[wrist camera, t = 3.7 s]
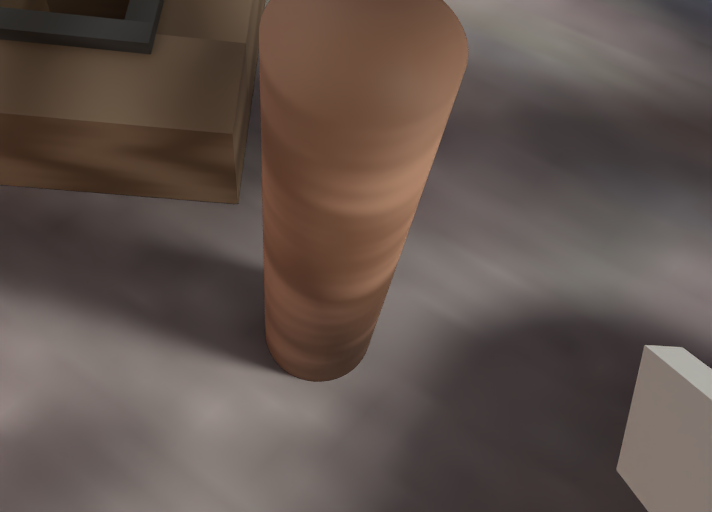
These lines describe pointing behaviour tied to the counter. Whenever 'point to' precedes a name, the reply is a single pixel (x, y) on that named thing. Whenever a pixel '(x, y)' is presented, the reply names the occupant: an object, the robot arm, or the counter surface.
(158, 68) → the walnut socket block
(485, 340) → the counter surface
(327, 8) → the terracotta peg
